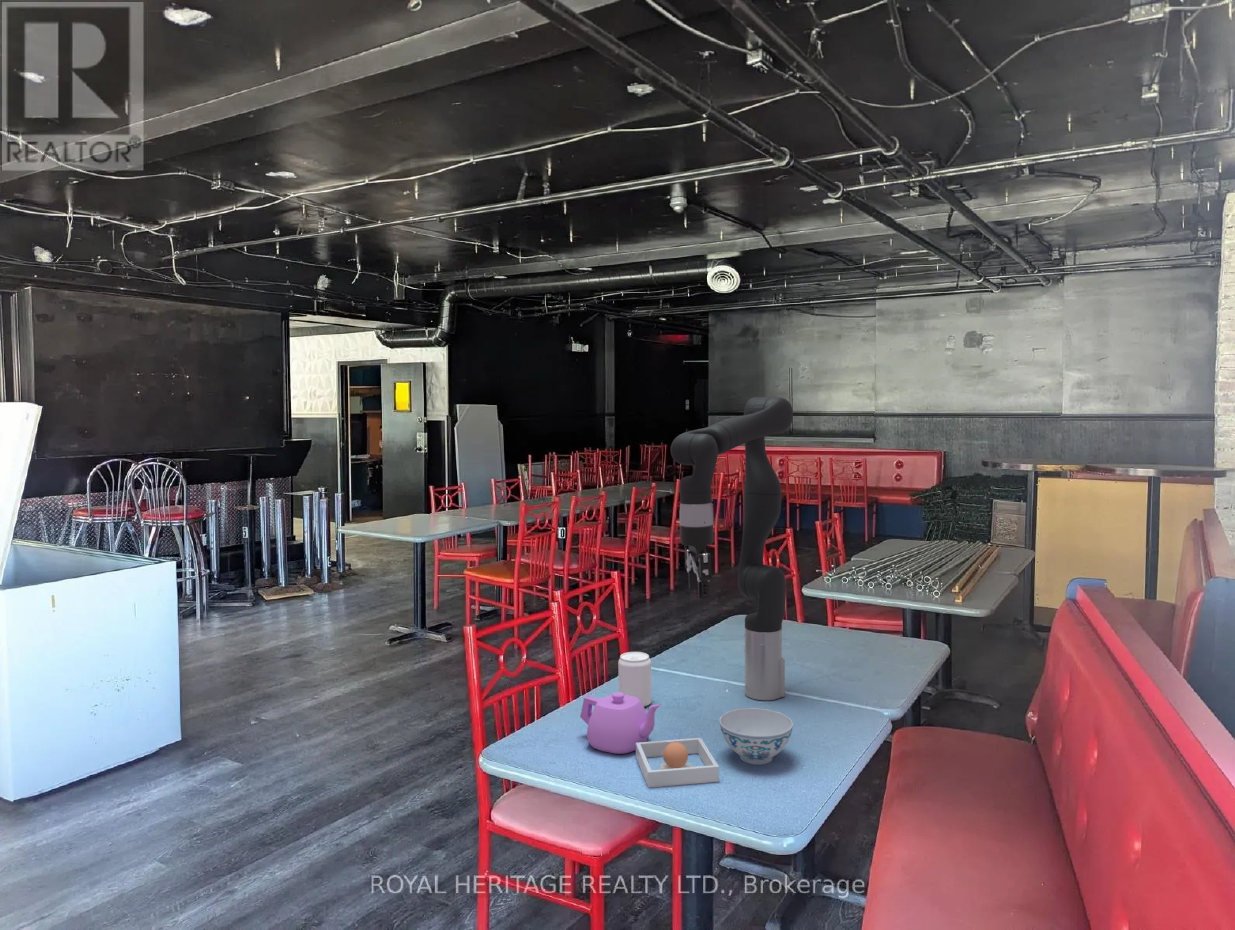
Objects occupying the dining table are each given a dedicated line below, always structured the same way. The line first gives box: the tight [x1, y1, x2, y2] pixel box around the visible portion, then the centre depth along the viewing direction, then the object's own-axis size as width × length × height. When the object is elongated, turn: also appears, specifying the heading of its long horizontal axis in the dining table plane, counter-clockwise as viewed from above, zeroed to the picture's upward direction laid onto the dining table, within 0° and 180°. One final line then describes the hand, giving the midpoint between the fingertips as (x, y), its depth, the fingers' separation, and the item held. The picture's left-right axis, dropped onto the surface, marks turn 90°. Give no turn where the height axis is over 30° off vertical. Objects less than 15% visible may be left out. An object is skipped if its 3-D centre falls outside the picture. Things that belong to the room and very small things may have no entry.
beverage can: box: [617, 651, 653, 708], centre depth 197 cm, size 8×8×12 cm
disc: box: [659, 761, 693, 770], centre depth 161 cm, size 6×6×1 cm
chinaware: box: [718, 707, 794, 765], centre depth 165 cm, size 15×15×8 cm
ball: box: [662, 742, 689, 768], centre depth 161 cm, size 5×5×5 cm
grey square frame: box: [635, 737, 720, 788], centre depth 161 cm, size 14×14×3 cm
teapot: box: [580, 691, 662, 755], centre depth 173 cm, size 13×20×11 cm
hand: (698, 593), depth 180 cm, fingers open, 8 cm apart
